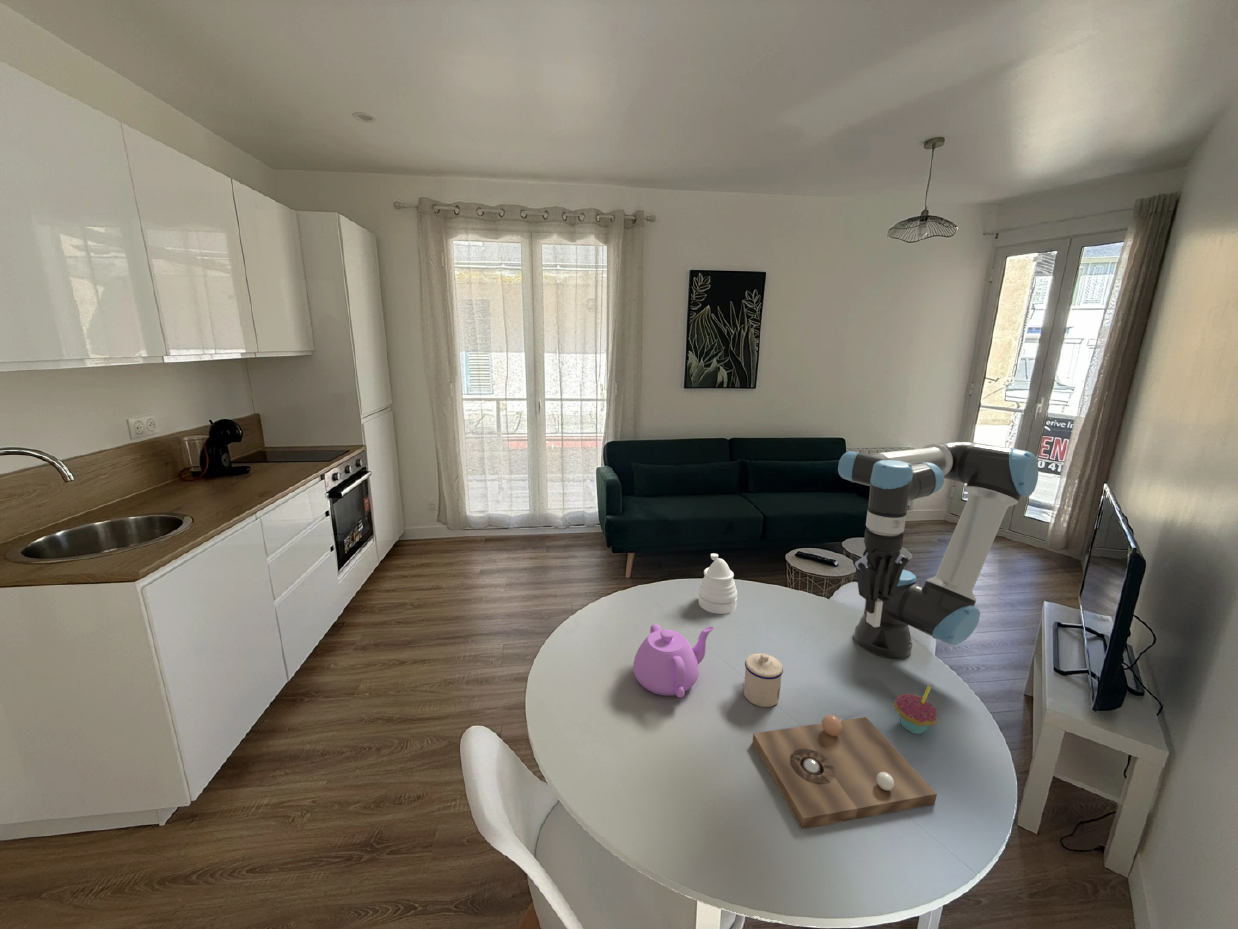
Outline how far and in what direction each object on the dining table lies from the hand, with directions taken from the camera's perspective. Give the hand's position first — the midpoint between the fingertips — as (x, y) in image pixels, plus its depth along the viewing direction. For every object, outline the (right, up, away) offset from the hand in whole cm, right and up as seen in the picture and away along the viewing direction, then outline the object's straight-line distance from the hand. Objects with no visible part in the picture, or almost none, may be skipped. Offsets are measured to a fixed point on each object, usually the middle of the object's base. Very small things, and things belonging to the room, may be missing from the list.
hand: (872, 623), depth 112 cm
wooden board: (-14, -26, -13) cm, 33 cm away
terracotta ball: (-13, -20, -7) cm, 25 cm away
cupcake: (+9, -24, -1) cm, 25 cm away
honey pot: (-26, -11, +52) cm, 59 cm away
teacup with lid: (-24, -21, +10) cm, 33 cm away
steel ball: (-20, -25, -14) cm, 35 cm away
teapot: (-45, -20, +15) cm, 51 cm away
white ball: (-8, -24, -20) cm, 32 cm away
